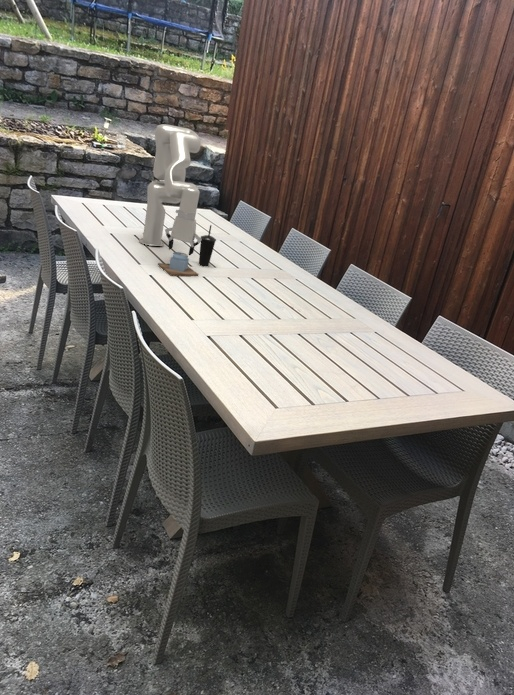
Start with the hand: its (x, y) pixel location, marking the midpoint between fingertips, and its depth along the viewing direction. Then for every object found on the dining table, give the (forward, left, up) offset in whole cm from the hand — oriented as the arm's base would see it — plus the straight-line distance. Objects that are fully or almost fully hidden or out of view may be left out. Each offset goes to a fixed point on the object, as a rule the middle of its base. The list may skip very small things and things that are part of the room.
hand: (180, 251), depth 266 cm
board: (+1, 0, -9) cm, 9 cm away
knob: (+1, 0, -8) cm, 8 cm away
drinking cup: (-9, +19, -9) cm, 23 cm away
